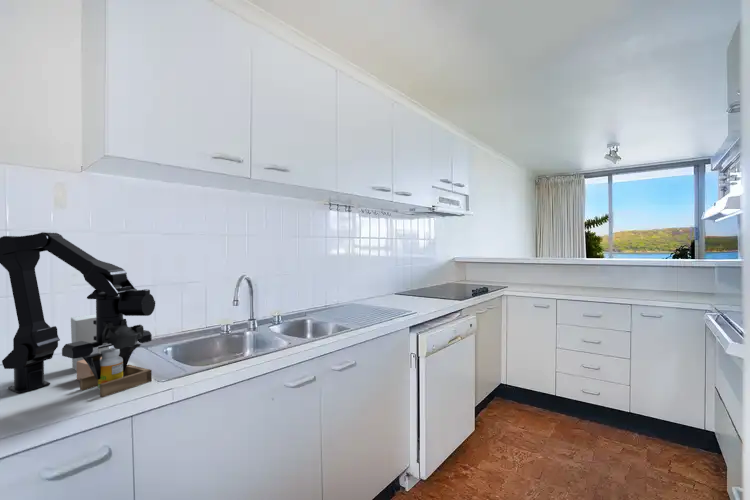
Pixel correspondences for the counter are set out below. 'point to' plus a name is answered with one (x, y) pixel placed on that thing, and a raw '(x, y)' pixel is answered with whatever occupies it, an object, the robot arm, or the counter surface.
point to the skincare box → (83, 333)
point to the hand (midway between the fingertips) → (110, 375)
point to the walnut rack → (118, 381)
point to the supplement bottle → (110, 365)
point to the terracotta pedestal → (83, 369)
